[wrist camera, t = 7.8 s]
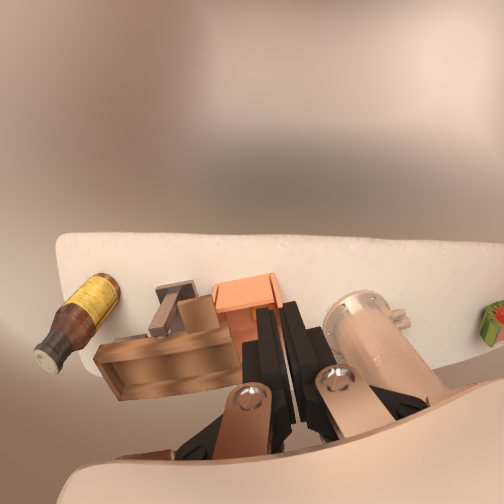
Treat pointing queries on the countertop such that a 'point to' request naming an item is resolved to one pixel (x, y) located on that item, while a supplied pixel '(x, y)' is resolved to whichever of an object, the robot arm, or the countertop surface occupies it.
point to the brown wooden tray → (173, 357)
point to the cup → (245, 305)
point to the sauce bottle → (77, 322)
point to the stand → (171, 307)
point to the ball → (270, 306)
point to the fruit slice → (493, 324)
